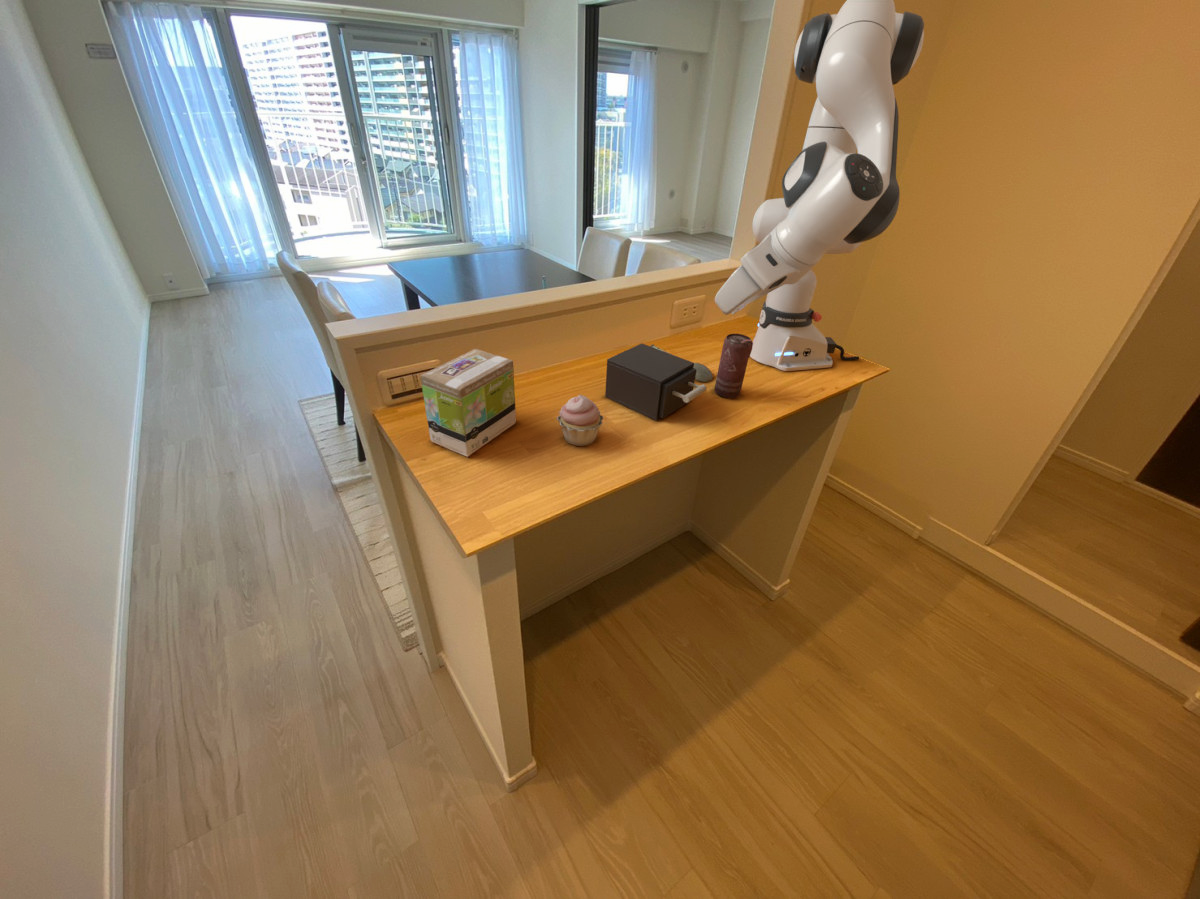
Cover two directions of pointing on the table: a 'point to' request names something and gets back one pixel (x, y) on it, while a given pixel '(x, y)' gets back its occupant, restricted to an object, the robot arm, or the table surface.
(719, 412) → the table surface
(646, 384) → the black drawer box
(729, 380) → the can
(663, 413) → the dark drawer with handle
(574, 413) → the cupcake
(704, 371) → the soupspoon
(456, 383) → the tea box
